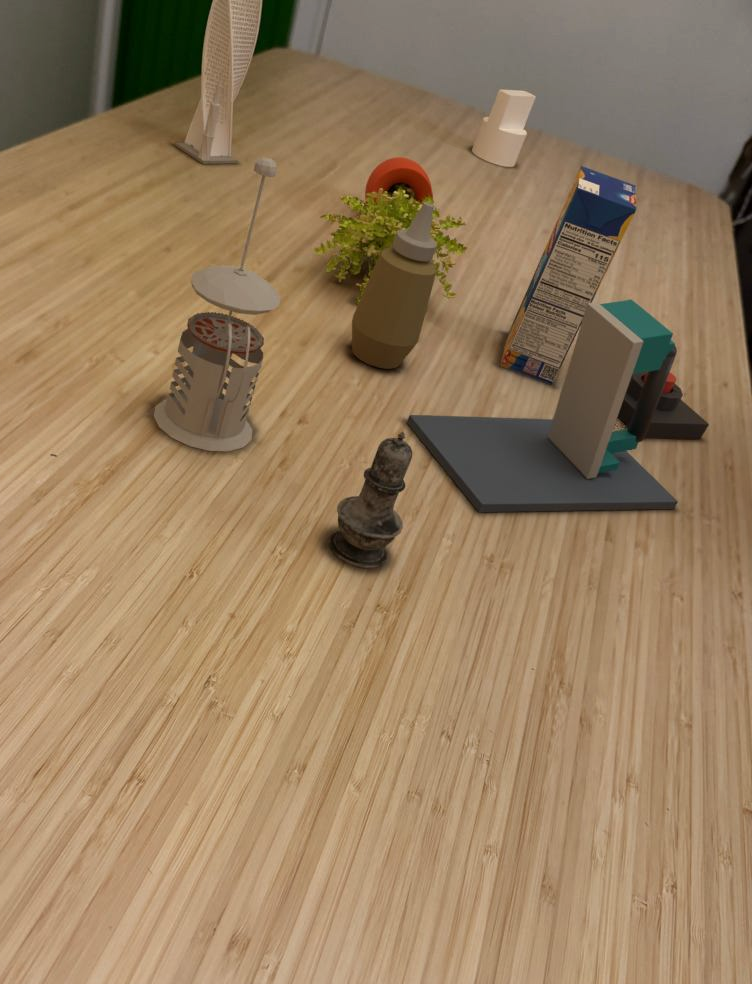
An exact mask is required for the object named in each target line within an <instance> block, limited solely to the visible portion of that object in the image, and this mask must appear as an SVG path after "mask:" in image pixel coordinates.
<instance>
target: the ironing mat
mask: <svg viewBox="0 0 752 984" xmlns="http://www.w3.org/2000/svg"><path fill="white" fill-rule="evenodd" d="M552 421H553V418H524V417H522V418H521V417H491V416H461V415H460V416H459V415H458V416H457V415H431V414H430V415H429V414H409V415H408V418H407V421H406V424H407V425H408V426H409V427H410V429H411V430H412V431H413V432H414V433H415V435H416V436H417V438H419V440H420V441H421V442H422V444H423V445H424V446H425V447H426V448H427V450H428V451H429V453H430V454H431V455H432V456H433V457H434V459H435V460H436V461H437V463H439V465H440V466H441V467H442V469H443V470H444V471H445V472H446V474H447V475H448V476H449V477H450V478H451V480H452V481H453V482H454V483H455V485H456V486H457V488H459V490H460V491H461V492H462V493H463V495H464V496H465V497H466V498H467V500H468V501H469V503H470V504H472V506H473V507H474V509H476V511H477V512H478V513H507V512H508V513H510V512H511V513H512V512H515V513H516V512H517V513H518V512H567V511H568V512H570V511H571V512H573V511H576V512H577V511H628V510H629V511H630V510H631V511H632V510H640V511H641V510H675V508H676V506H677V504H678V503H679V501H678V500H677V499H676V498H675V497H674V496H673V495H672V494H671V493H670V492H669V491H668V490H667V489H666V488H665V487H664V486H663V485H662V484H661V483H660V482H659V481H658V480H657V479H656V478H655V476H653V475H652V474H650V472H649V471H648V470H646V468H645V467H644V466H642V465H641V463H639V462H638V461H637V459H636V458H635V457H634V456H632V455H631V454H630V453H629V452H628V451H623V452H618V453H613V454H612V455H613V456H614V457H615V458H616V459H617V460H618V461H619V462H620V464H619V466H618V469H617V470H613V471H608V472H603V473H598V474H597V477H594V478H589V479H587V478H586V477H585V476H584V475H583V474H582V473H581V472H580V471H579V470H578V469H577V467H576V466H575V465H574V464H573V463H572V462H571V461H570V460H569V459H568V458H567V457H566V456H565V455H564V454H563V453H562V452H561V451H560V450H559V448H558V447H557V446H556V445H555V444H554V443H553V442H552V441H551V440H550V439H549V438H548V435H549V431H550V428H551V425H552Z"/></svg>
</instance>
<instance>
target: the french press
mask: <svg viewBox="0 0 752 984" xmlns="http://www.w3.org/2000/svg"><path fill="white" fill-rule="evenodd" d="M253 171H254V172H255V173H256V174H258V175H259V176H261V180H260V183H259V184H260V185H259V189H258V191H257V192H258V193H257V197H256V200H255V205H254V209H253V214H252V218H251V221H250V226H249V230H248V233H247V238H246V242H245V246H244V251H243V255H242V259H241V263H240V266H237V265H236V266H235V265H231V264H221V265H210V266H207V267H204V268H201V269H199V270H197V271H196V272H194V273H192V274H191V279H190V283H191V287H192V288H193V290H194V292H195V293H196V295H197V296H199V297H200V298H201V299H203V300H204V301H206V302H207V303H209V304H211V305H213V306H215V307H217V308H219V309H221V310H224V311H229V313H228V314H227V313H225V314H224V313H223V312H216V311H211V312H210V311H205V312H200V313H199V312H197V313H195V314H194V315H192V316H190V317H189V318H188V319H187V323H186V326H187V328H186V329H185V330H184V331H182V332H181V335H180V339H179V343H178V347H177V353H178V354H179V355H180V356H177V357H175V361H174V365H175V366H176V367H177V368H175V369H173V370H172V375H171V376H172V378H173V380H172V381H170V385H169V390H170V391H171V392H170V393H168V394H167V397H166V398H164V399H163V400H162V401H160V402H159V403H158V404H156V405H155V407H154V413H153V418H154V420H155V422H156V425H157V426H158V428H159V429H161V430H162V431H163V432H164V433H165V434H167V435H168V436H169V437H170V438H172V439H173V440H175V441H178V442H179V443H182V444H184V445H186V446H188V447H191V448H194V449H195V448H196V449H200V450H204V451H207V452H231V451H235V450H239V449H243V448H244V447H246V446H247V445H248V444H249V443H251V441H252V440H253V428H252V427H251V425H250V423H249V422H248V416H249V413H250V406H251V405H252V401H253V395H254V393H255V390H256V384H257V382H258V379H259V375H260V373H259V371H260V370H261V367H262V364H263V361H264V352H263V350H262V349H261V348H262V347H263V346H264V341H265V337H264V336H263V335H262V333H261V331H260V330H259V329H258V328H257V327H255V326H254V325H252V324H251V323H250V321H249V322H247V321H244V319H241V317H240V318H237V316H236V317H235V315H233V313H235V314H240V315H252V316H258V315H263V314H267V313H268V314H269V313H270V312H271V311H273V310H274V309H276V308H277V307H279V306H280V305H281V296H280V295H279V293H278V292H277V291H276V289H275V288H274V286H272V284H271V283H270V282H268V281H267V280H265V279H264V278H263V277H261V276H259V275H258V274H257V273H255V272H254V271H252V270H250V269H248V268H244V266H245V262H246V257H247V254H248V249H249V246H250V241H251V236H252V233H253V229H254V225H255V221H256V218H257V213H258V209H259V205H260V201H261V197H262V192H263V188H264V184H265V179H266V177H268V178H276V175H277V163H276V161H275V160H273V159H271V158H270V157H265V156H264V157H262V156H261V157H260V158H258V159H257V160H256V162H255V163H254V167H253ZM190 348H192V352H191V351H190V350H189V349H190ZM232 355H235V356H237V357H238V358H240V359H241V360H243V361H244V364H243V365H241V364H239V363H238V362H236V361H235V360H234V359H233V358H232ZM184 362H185V363H186V364H187V365H183V363H184ZM248 363H250V364H255V365H251V366H248ZM229 367H231V370H229ZM180 375H182V376H183V377H180ZM254 378H255V380H254V381H252V380H253V379H254ZM226 379H228V382H226ZM177 387H179V388H180V389H177ZM224 390H225V394H224V393H223V391H224ZM250 392H251V393H250ZM247 404H248V405H247Z"/></svg>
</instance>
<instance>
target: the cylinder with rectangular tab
mask: <svg viewBox="0 0 752 984" xmlns="http://www.w3.org/2000/svg"><path fill="white" fill-rule="evenodd" d="M536 98H537V96H536V95H534V94H532V93H530V92H529V91H526V90H520V89H519V90H517V89H516V90H515V89H498V91H497V93H496V97H495V99H494V102H493V105H492V107H491V110H490V112H489V116H485V117H483V118H482V121H481V124H480V127H479V130H478V131H477V132H478V133H477V134H476V138H475V141H474V143H473V146H472V149H471V152H472V153H473V154H474V155H475V156H476V157H478V158H479V159H481V160H483V161H486V162H488V163H491V164H494V165H497V166H501V167H505V168H506V167H507V168H512V167H515V166H516V164H517V161H518V159H519V155H520V153H521V151H522V148H523V145H524V143H525V140H526V139H527V135H528V132H527V131H526V129H524V128H525V126H526V123H527V121H528V118H529V116H530V114H531V110H532V108H533V107H534V104H535V100H536Z"/></svg>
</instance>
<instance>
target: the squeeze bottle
mask: <svg viewBox="0 0 752 984" xmlns="http://www.w3.org/2000/svg"><path fill="white" fill-rule="evenodd" d="M433 210H435V205H434V203H433V204H431V203H428V202H424V203H423V205H422V206H421V208H420V210H419V211H418V213H417V215H416V217H415V218H414V220H413V222H412V223H411V225H410V227H409V229H401V230H398V231H397V233H396V236H395V239H394V242H393V246H392V247H389V248H387V249H385V250H383V251H382V252H381V254H380V256H379V258H378V257H377V258H378V261H377V263H376V265H375V267H374V266H373V267H374V268H373V269H374V270H373V269H372V270H373V272H372V274H371V276H369V278H368V279H369V281H368V283H367V286H366V288H365V290H364V292H362V293H363V295H362V297H361V296H360V298H359V299H360V302H359V304H357V306H356V308H355V311H354V312H353V315H352V318H351V319H352V320H351V351H352V353H353V355H354V356H355V357H356V358H357V359H358V360H360V361H362V362H364V363H366V364H367V365H369V366H372V367H376V368H379V369H386V370H390V369H396V368H398V367H399V366H401V364H402V363H403V361H404V360H405V359H406V358H407V357H408V355H409V354H410V353H411V352H412V350H413V349H414V348H415V347H416V345H417V344H418V343H419V339H420V335H421V332H422V328H423V325H424V321H425V317H426V313H427V309H428V307H429V302H430V298H431V294H432V290H433V286H434V284H435V283H434V282H435V280H436V276H437V275H436V269H437V268H436V266H435V265H434V263H435V262H432V260H433V259H434V256H435V254H436V252H435V250H436V247H437V243H436V242H435V241H434V239H432V238H431V237H430V231H431V224H432V217H433ZM434 253H435V254H434Z"/></svg>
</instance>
